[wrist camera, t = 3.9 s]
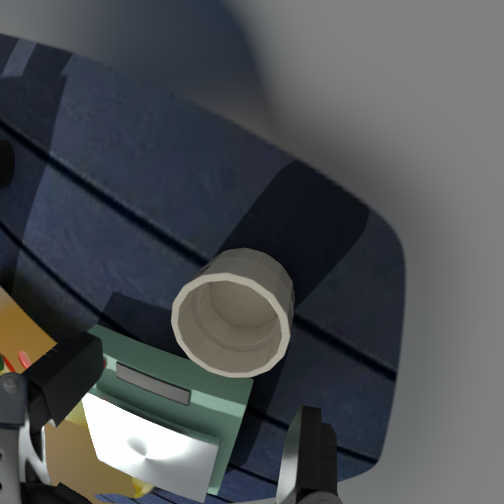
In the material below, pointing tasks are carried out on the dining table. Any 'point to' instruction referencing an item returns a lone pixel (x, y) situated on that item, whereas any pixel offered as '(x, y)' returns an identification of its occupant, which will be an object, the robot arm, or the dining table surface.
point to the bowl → (236, 314)
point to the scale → (174, 391)
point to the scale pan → (151, 446)
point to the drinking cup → (6, 163)
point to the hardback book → (1, 364)
